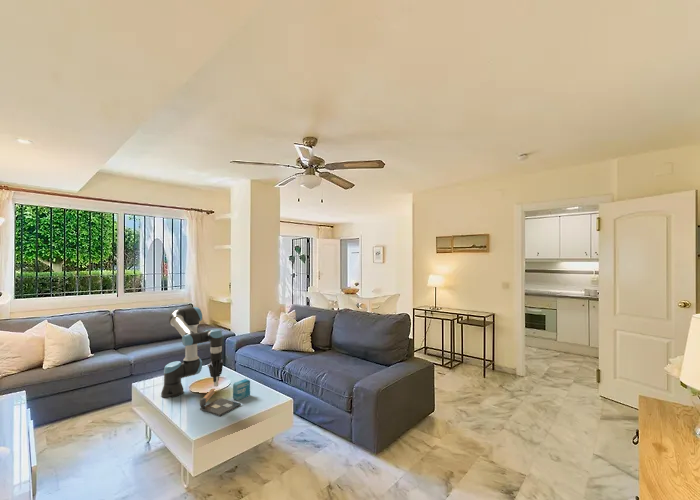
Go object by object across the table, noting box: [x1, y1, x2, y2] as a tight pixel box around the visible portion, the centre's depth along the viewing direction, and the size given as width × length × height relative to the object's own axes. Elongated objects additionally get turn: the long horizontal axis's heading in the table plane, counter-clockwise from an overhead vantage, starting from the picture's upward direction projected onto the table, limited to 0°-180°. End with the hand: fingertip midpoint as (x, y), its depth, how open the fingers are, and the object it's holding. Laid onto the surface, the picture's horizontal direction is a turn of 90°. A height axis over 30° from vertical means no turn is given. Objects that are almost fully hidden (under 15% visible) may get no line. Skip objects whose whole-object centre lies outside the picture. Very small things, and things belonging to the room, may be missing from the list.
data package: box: [232, 378, 251, 401], centre depth 245 cm, size 12×4×12 cm, turn 143°
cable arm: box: [199, 388, 216, 407], centre depth 235 cm, size 21×4×4 cm, turn 3°
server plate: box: [199, 397, 242, 417], centre depth 229 cm, size 20×18×3 cm
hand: (216, 386), depth 229 cm, fingers closed
